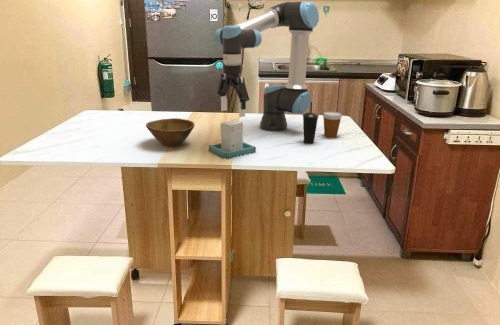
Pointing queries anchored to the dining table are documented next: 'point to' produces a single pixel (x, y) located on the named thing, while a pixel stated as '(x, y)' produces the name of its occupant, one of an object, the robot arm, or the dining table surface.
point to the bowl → (170, 130)
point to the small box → (231, 136)
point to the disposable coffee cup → (331, 124)
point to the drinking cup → (309, 126)
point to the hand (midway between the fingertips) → (232, 113)
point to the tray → (246, 150)
